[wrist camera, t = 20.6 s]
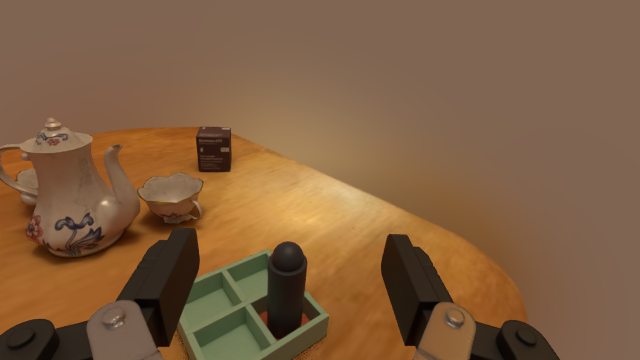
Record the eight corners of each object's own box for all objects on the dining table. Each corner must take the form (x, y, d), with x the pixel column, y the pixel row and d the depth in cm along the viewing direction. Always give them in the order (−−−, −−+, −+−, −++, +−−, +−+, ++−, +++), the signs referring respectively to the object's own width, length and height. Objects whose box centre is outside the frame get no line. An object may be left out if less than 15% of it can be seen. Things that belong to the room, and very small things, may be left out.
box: (198, 172, 61) (194, 136, 57) (202, 159, 66) (199, 126, 62) (230, 171, 62) (229, 137, 59) (232, 159, 67) (230, 126, 64)
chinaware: (218, 209, 53) (215, 110, 47) (180, 272, 37) (168, 136, 31) (45, 198, 51) (19, 94, 45) (-70, 259, 35) (-135, 113, 29)
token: (308, 328, 31) (316, 249, 27) (278, 347, 29) (282, 264, 25) (289, 305, 34) (293, 228, 29) (260, 321, 32) (260, 241, 27)
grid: (326, 335, 32) (329, 315, 30) (213, 412, 25) (210, 390, 23) (267, 266, 40) (267, 248, 38) (169, 310, 33) (165, 290, 31)
